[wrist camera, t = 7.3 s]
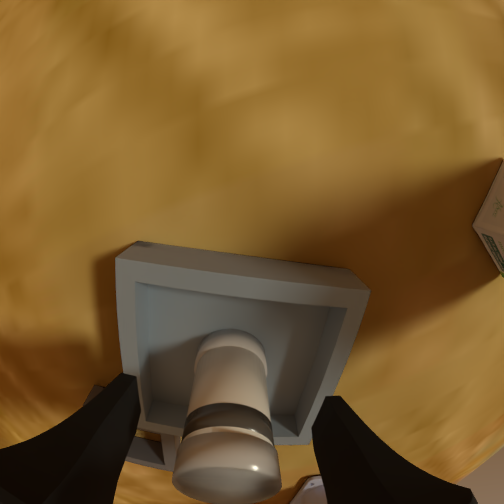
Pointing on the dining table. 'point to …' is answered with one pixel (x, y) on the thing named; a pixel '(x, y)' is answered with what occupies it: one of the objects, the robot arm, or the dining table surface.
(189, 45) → the dining table surface
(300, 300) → the parts tray
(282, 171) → the dining table surface
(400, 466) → the robot arm
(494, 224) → the syrup box
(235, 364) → the cylinder
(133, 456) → the fuse socket
